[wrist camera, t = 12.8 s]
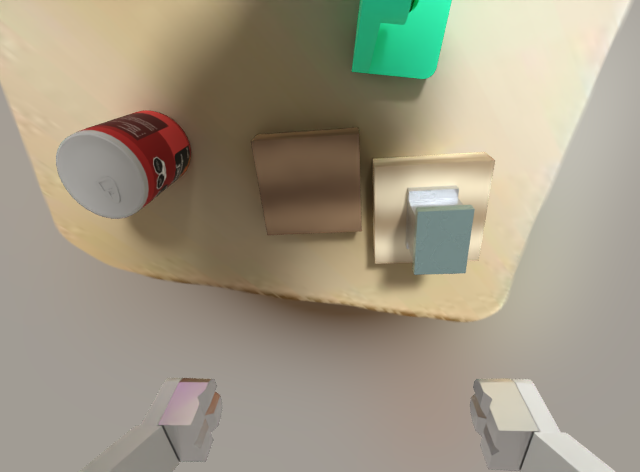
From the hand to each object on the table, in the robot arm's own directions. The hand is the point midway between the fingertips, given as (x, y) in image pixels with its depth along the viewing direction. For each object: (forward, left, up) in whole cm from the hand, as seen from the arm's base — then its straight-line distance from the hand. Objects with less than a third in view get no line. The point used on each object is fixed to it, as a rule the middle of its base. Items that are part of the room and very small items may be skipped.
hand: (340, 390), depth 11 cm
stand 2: (+8, +9, -31) cm, 33 cm away
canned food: (-1, -21, -31) cm, 38 cm away
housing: (+8, +9, -28) cm, 31 cm away
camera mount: (-12, +6, -32) cm, 34 cm away
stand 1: (+4, -4, -31) cm, 32 cm away
